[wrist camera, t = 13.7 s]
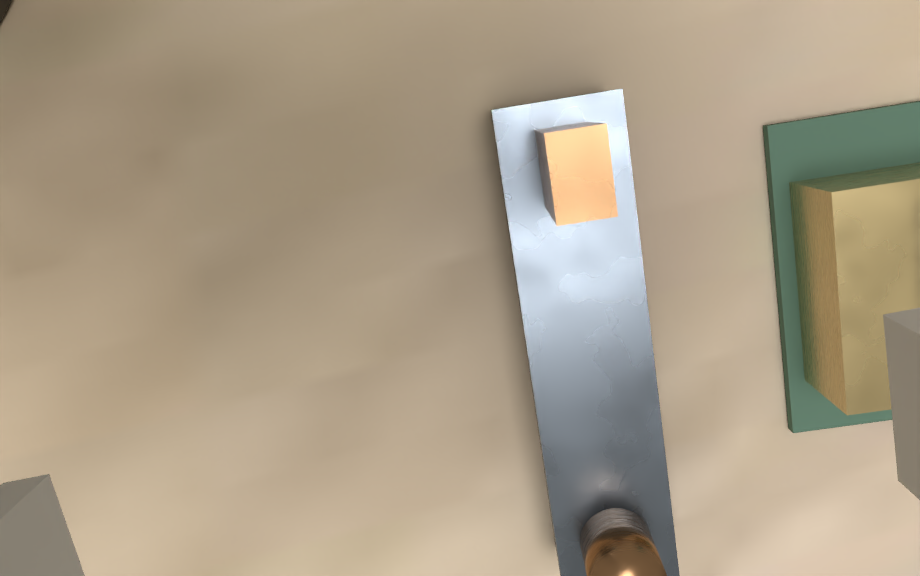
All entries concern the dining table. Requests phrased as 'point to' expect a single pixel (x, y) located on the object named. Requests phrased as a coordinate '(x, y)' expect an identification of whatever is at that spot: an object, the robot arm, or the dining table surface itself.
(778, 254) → the felt pad
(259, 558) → the dining table surface
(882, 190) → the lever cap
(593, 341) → the knobbed metal bar
